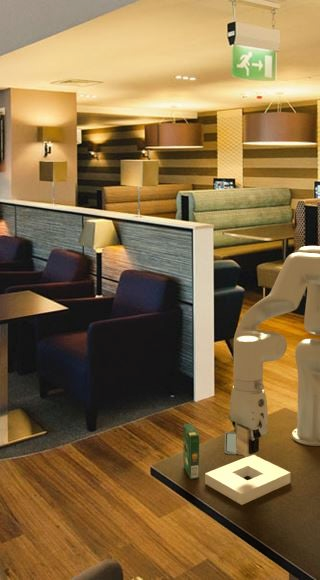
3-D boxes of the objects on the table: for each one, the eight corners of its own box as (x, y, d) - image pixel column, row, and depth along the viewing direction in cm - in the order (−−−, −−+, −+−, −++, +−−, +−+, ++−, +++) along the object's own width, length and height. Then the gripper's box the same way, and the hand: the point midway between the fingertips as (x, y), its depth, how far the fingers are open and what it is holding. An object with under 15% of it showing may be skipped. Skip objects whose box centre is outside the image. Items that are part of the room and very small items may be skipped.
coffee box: (200, 479, 171) (199, 434, 168) (190, 480, 170) (189, 435, 168) (193, 466, 178) (192, 422, 176) (183, 467, 178) (182, 423, 176)
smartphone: (248, 433, 199) (249, 453, 185) (248, 435, 200) (249, 455, 185) (225, 432, 200) (224, 452, 186) (224, 434, 200) (224, 455, 186)
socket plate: (253, 464, 179) (253, 454, 178) (290, 482, 168) (290, 472, 167) (205, 483, 168) (205, 473, 168) (241, 504, 157) (241, 494, 157)
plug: (247, 448, 169) (247, 420, 167) (257, 453, 166) (258, 424, 164) (236, 452, 166) (236, 423, 165) (247, 457, 163) (247, 428, 162)
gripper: (282, 388, 158) (280, 456, 162) (236, 373, 171) (235, 436, 175) (261, 395, 154) (260, 464, 157) (215, 378, 167) (215, 443, 170)
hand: (247, 448), depth 166 cm, fingers closed on plug, 4 cm apart
